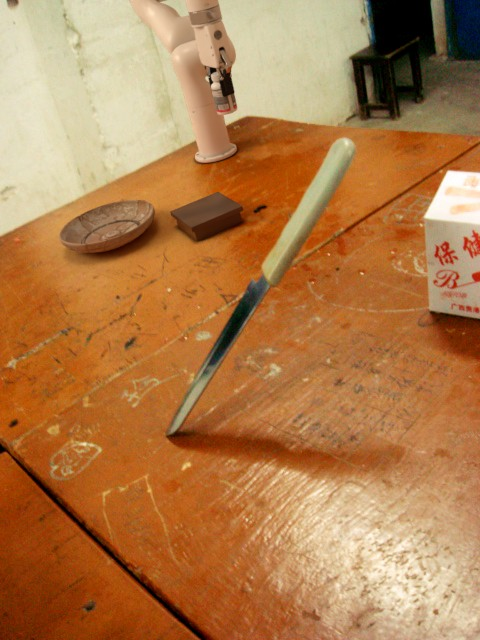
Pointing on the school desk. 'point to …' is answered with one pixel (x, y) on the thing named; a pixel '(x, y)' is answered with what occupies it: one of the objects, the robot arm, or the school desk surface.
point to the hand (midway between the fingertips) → (223, 92)
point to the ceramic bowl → (107, 226)
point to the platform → (208, 215)
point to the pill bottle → (222, 103)
